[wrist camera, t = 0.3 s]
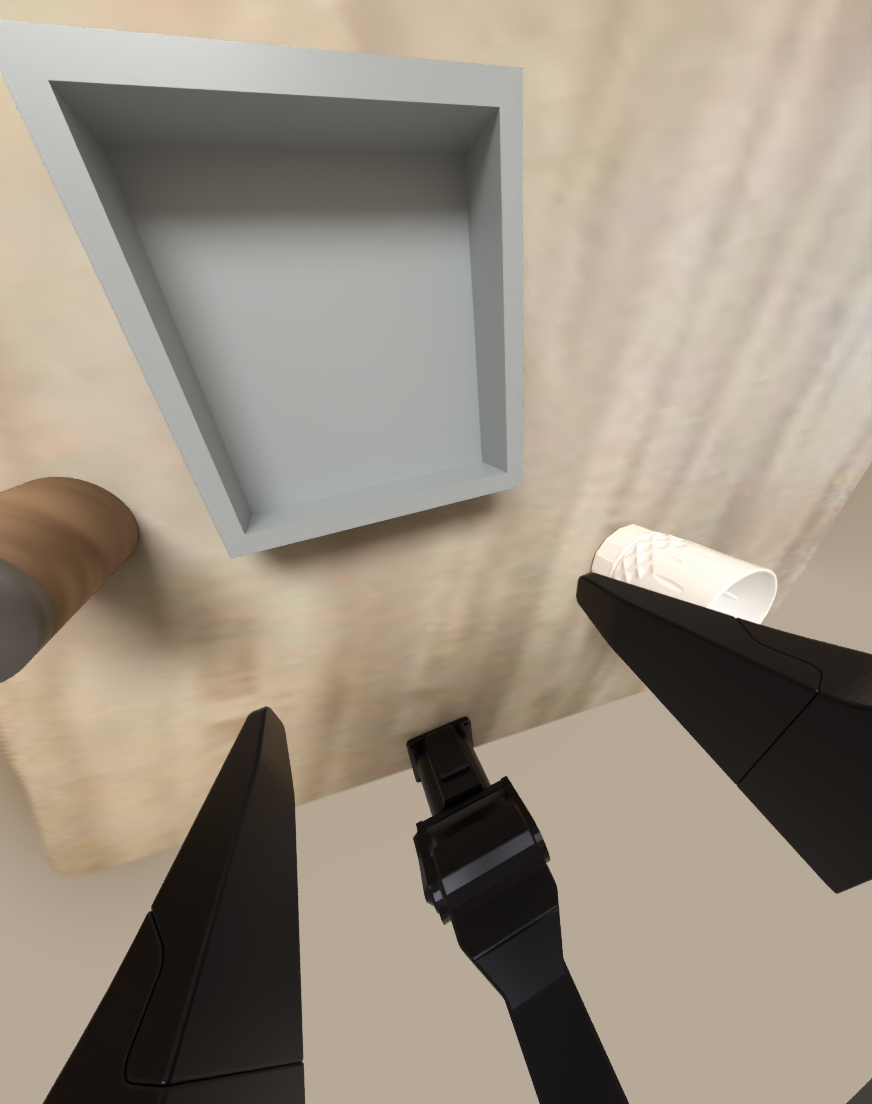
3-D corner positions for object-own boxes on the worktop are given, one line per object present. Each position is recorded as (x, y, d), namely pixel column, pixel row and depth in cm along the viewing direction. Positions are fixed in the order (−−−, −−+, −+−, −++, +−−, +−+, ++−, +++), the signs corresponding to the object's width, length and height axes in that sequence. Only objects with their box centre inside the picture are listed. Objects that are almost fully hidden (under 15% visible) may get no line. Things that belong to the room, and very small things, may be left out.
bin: (490, 470, 24) (522, 485, 20) (241, 528, 20) (230, 558, 16) (475, 133, 16) (522, 67, 13) (63, 118, 12) (-26, 17, 9)
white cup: (664, 547, 34) (785, 602, 25) (607, 606, 35) (707, 678, 26) (633, 500, 30) (767, 547, 21) (570, 568, 31) (674, 640, 22)
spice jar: (157, 556, 19) (73, 663, 12) (47, 582, 18) (-122, 719, 11) (105, 467, 17) (-41, 532, 9) (-27, 489, 15) (-310, 585, 8)
